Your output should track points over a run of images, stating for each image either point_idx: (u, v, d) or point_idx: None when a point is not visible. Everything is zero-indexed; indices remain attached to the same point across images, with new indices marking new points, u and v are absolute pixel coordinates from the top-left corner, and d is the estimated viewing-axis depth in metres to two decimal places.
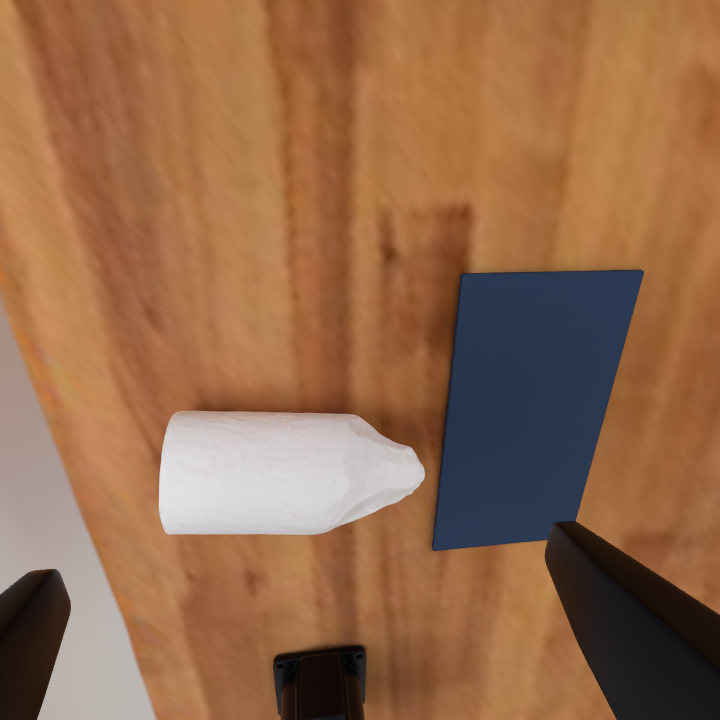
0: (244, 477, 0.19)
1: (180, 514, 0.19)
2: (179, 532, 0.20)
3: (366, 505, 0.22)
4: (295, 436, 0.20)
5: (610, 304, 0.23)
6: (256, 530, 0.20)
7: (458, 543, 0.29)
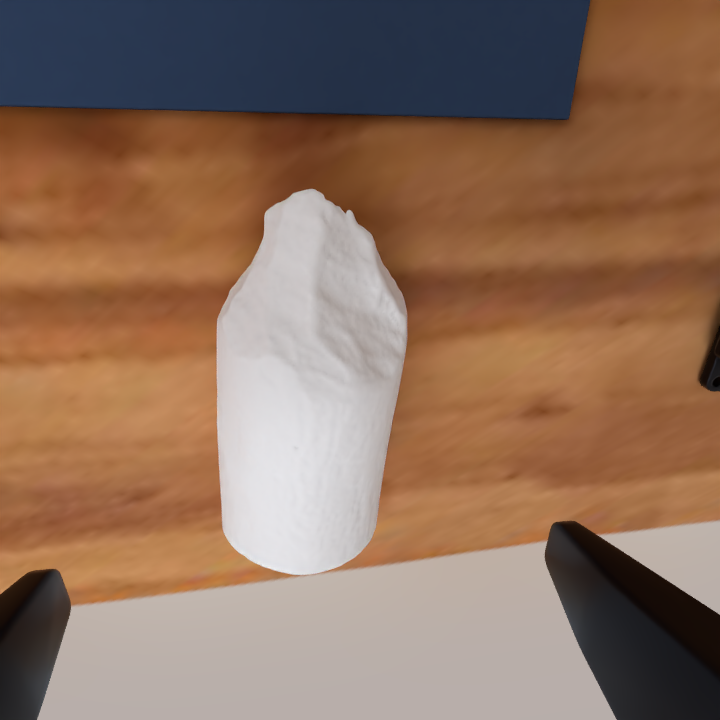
0: (256, 488, 0.14)
1: (307, 558, 0.15)
2: (350, 548, 0.15)
3: (358, 300, 0.13)
4: (222, 405, 0.14)
5: None
6: (351, 476, 0.14)
7: (565, 61, 0.14)
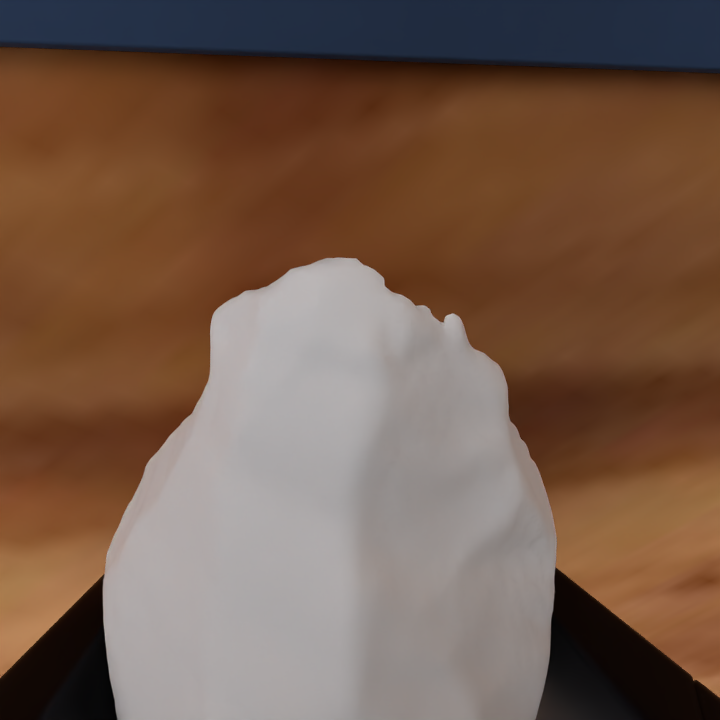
0: None
1: None
2: None
3: (464, 539, 0.05)
4: None
5: None
6: None
7: None
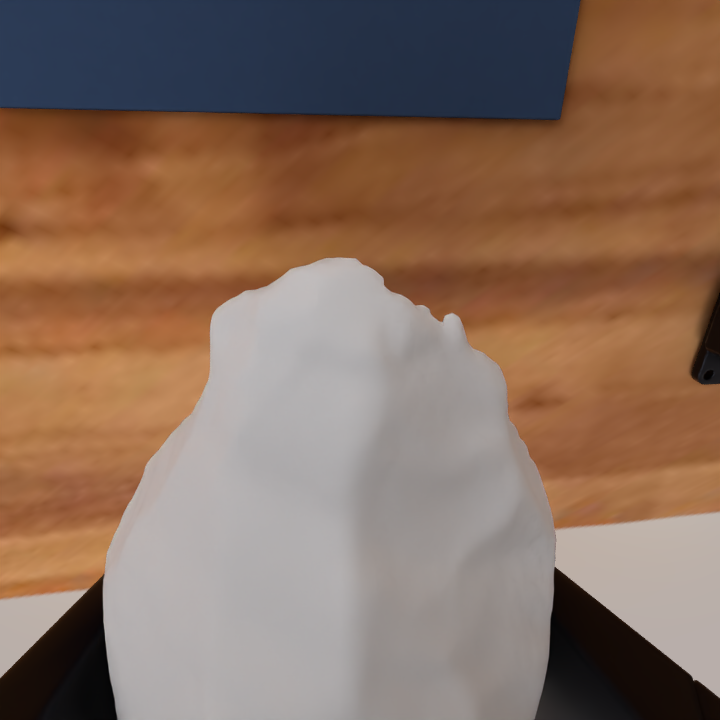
0: None
1: None
2: None
3: (463, 539, 0.05)
4: None
5: None
6: None
7: (556, 63, 0.15)
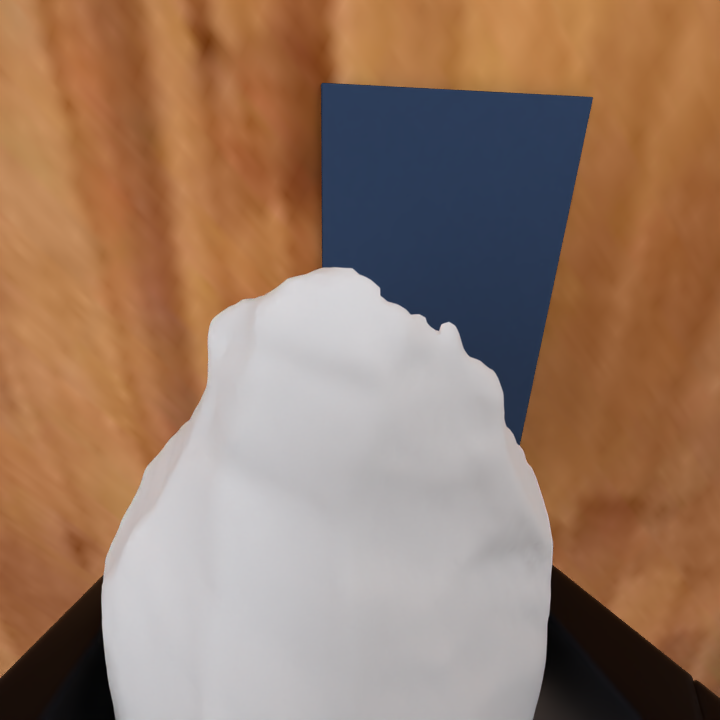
0: None
1: None
2: None
3: (460, 545, 0.05)
4: None
5: (546, 149, 0.16)
6: None
7: None
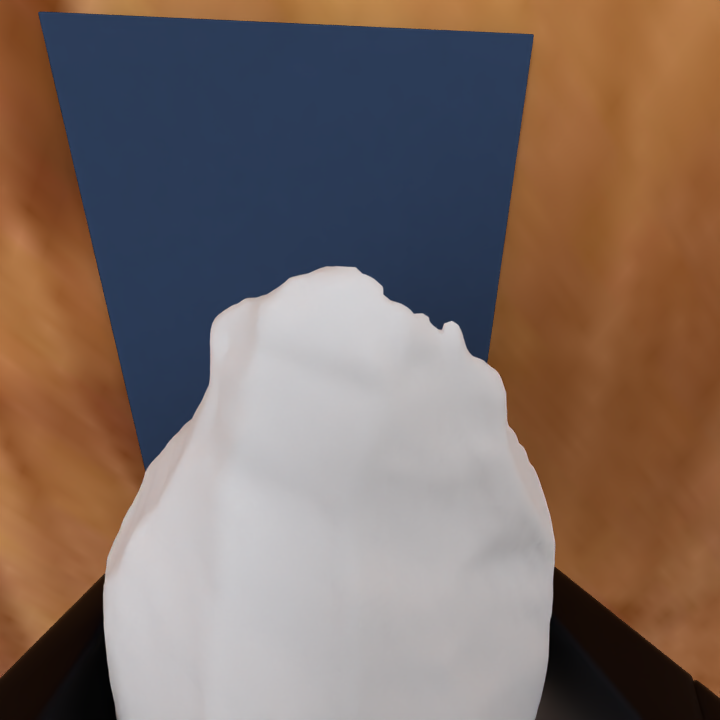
0: None
1: None
2: None
3: (463, 545, 0.05)
4: None
5: (460, 126, 0.10)
6: None
7: None
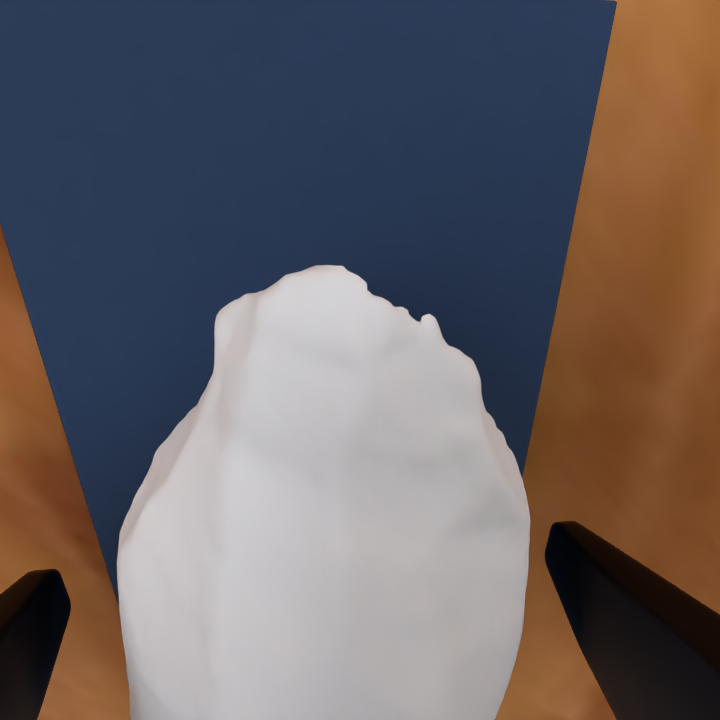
0: None
1: None
2: None
3: (441, 516, 0.05)
4: (133, 710, 0.06)
5: (512, 126, 0.07)
6: None
7: None
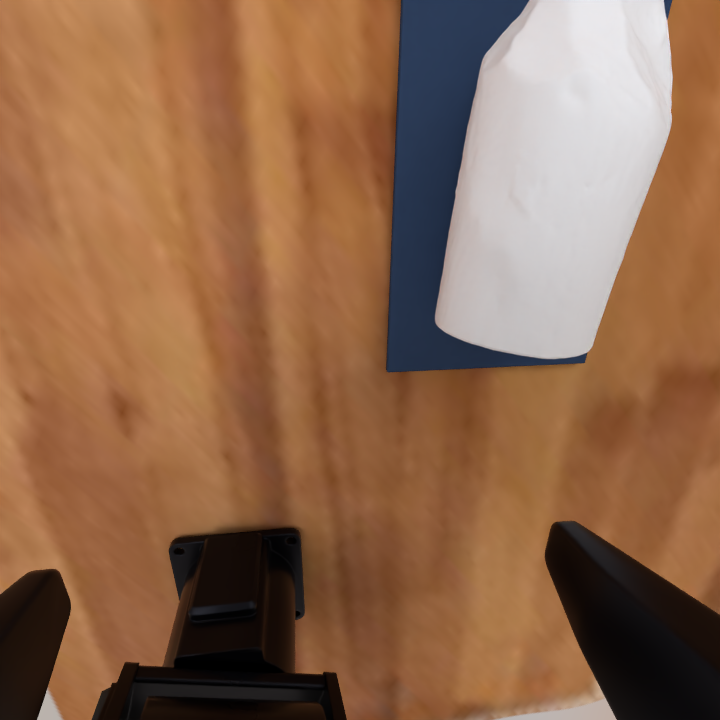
0: (524, 245, 0.13)
1: (557, 335, 0.14)
2: (588, 338, 0.15)
3: (646, 38, 0.12)
4: (485, 164, 0.13)
5: None
6: (619, 237, 0.13)
7: (423, 361, 0.20)
